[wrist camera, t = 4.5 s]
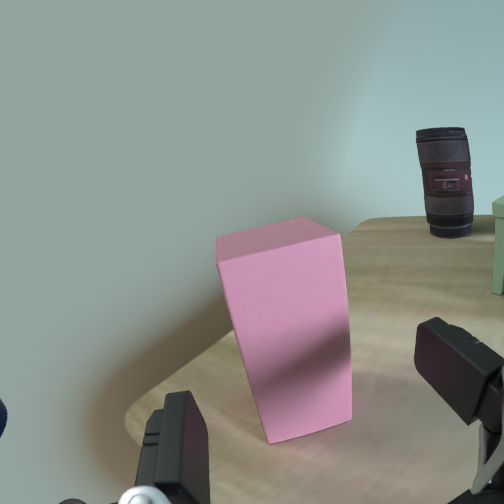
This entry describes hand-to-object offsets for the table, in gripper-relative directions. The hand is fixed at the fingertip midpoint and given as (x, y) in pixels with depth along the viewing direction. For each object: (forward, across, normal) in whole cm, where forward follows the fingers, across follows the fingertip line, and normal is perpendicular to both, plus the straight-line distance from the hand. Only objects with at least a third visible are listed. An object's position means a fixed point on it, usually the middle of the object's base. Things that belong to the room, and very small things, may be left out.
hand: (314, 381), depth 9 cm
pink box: (+5, 0, +6) cm, 8 cm away
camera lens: (+25, -30, +6) cm, 39 cm away
